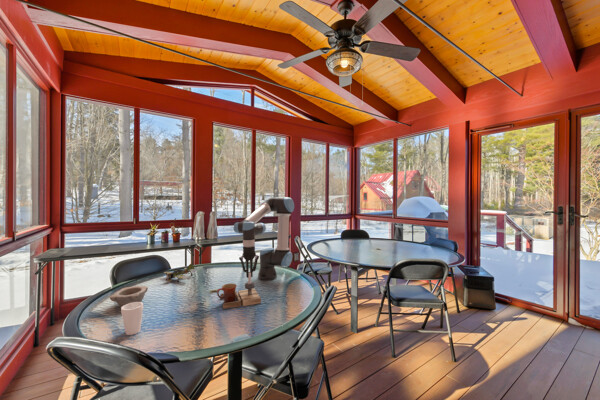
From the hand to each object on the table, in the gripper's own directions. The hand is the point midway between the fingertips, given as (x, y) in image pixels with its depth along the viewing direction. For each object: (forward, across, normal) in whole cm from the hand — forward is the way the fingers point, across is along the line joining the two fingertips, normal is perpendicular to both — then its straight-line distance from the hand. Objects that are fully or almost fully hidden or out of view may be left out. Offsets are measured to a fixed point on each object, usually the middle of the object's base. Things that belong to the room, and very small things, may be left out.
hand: (249, 282), depth 173 cm
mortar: (+11, -70, +20) cm, 74 cm away
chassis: (+11, -6, 0) cm, 12 cm away
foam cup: (+11, -62, -17) cm, 65 cm away
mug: (+11, -14, 0) cm, 18 cm away
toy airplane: (+11, -43, +63) cm, 77 cm away
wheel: (+3, 0, 0) cm, 3 cm away
